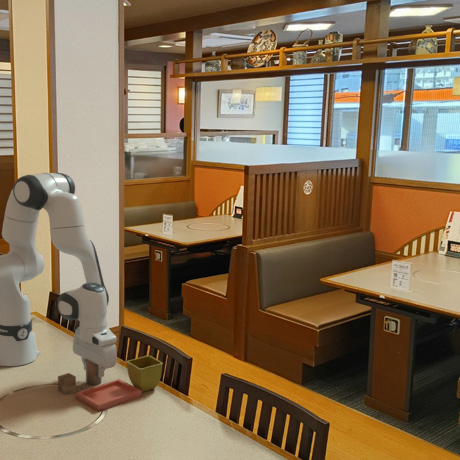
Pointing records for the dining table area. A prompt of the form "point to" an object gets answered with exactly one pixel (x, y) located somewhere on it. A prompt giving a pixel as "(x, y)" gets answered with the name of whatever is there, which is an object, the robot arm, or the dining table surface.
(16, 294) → the robot arm
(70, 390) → the block
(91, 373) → the brown cylinder
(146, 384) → the flower pot
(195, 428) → the dining table surface
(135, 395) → the tray
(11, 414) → the dining table surface
